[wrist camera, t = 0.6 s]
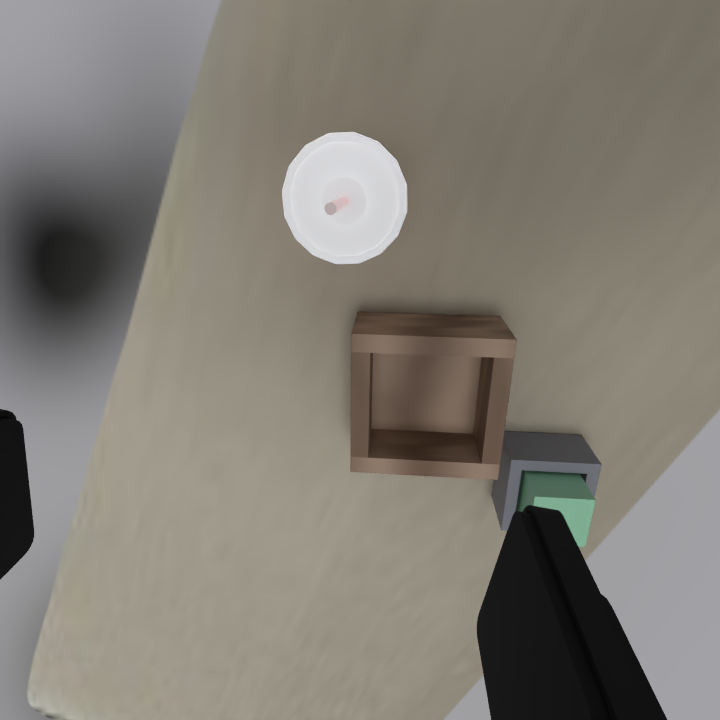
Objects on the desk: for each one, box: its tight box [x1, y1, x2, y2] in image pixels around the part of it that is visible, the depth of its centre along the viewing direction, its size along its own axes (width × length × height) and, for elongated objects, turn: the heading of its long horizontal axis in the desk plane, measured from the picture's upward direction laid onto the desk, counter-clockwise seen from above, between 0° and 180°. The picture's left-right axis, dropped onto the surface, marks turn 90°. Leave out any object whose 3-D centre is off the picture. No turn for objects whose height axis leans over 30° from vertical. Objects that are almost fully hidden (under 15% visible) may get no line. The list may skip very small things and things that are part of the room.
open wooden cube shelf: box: [350, 312, 517, 480], centre depth 34 cm, size 10×10×5 cm
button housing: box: [492, 431, 602, 531], centre depth 36 cm, size 6×6×4 cm
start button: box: [516, 470, 595, 547], centre depth 34 cm, size 4×4×5 cm
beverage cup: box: [282, 132, 407, 264], centre depth 25 cm, size 6×6×14 cm
